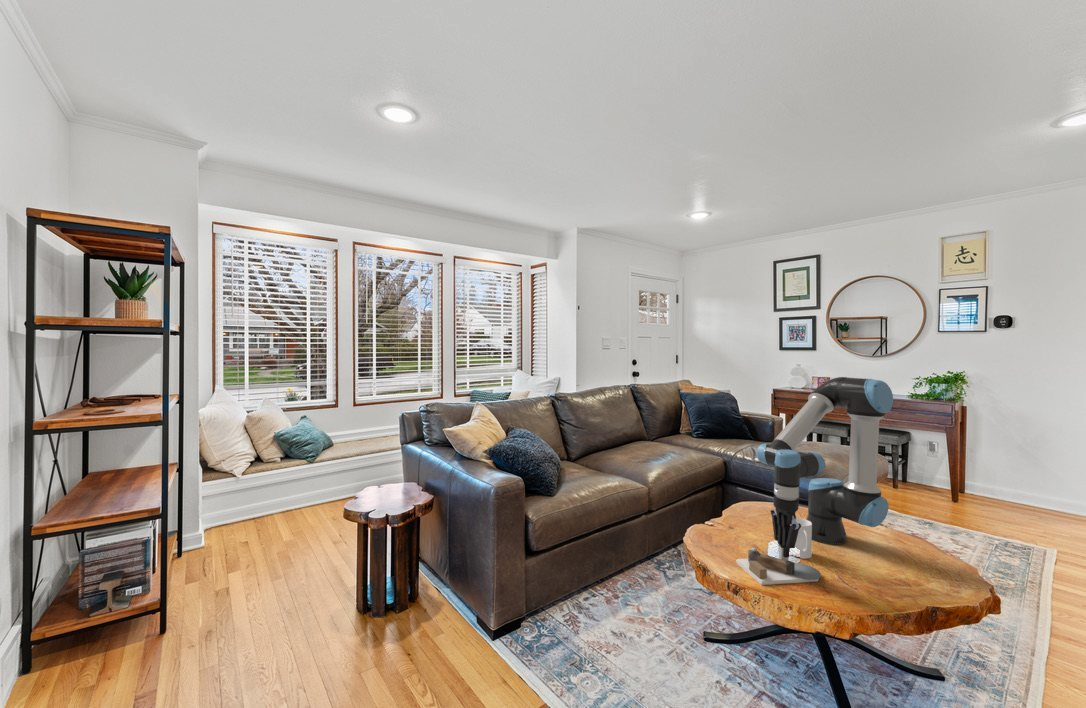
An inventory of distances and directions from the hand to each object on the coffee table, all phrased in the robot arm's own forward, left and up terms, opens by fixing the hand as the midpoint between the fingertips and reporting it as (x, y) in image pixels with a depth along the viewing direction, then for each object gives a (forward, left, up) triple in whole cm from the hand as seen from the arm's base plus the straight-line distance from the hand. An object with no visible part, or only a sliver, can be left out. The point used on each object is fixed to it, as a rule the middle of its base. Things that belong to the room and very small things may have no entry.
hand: (783, 564), depth 157 cm
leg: (+4, -1, -1) cm, 4 cm away
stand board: (+1, 0, -3) cm, 3 cm away
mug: (-14, -11, -3) cm, 18 cm away
